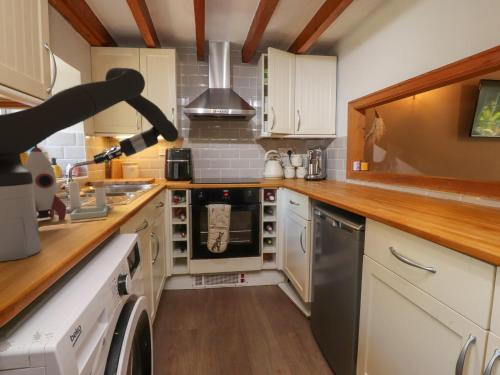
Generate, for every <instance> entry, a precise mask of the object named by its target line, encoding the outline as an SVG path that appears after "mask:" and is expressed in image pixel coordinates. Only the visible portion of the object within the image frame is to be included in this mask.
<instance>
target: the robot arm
mask: <svg viewBox="0 0 500 375" xmlns="http://www.w3.org/2000/svg"><path fill="white" fill-rule="evenodd" d="M104 79H105V80H100V81H91V82H85V83H79V84H75V85H71V86H70V87H66V88H64V89H61V90H59V91H57V92H55V93H53V94H52V95H50V96H48V98H46V99H45V100H44V101H43V102H42V103H39V104H38V105H35V106H32V107H28V108H25V109H21V110H18V111H14V112H10V113H2V114H0V263H1V262H8V261H14V260H22V259H27V258H29V257H31V256H33V255H35V254H38V253H39V252H41V250H42V247H41V239H40V231H39V222H38V218H37V214H38V212H37V213H36V205H35V196H34V188H33V179H32V174H31V172H30V171H28V170H27V169H26V168H25V167H24V165H23V164H24V163H23V162H22V157H21V155H23V154H24V153H27V152H28V151H31V150H32V149H33V148H34V147H35V146H36V145H37V146H38V145H39V144H40V143H42V142H43V141H45V140H46V139H48V138H49V137H51V136H52V135H54V134H56V133H57V132H60V131H61V132H62V131H63V130H66V129H69V128H71V127H73V126H75V125H78V124H80V123H83V122H84V121H87V120H89V119H90V118H92V117H95V116H96V115H98V114H100V113H102V112H104V111H106V110H108V109H109V108H111V107H114V106H115V105H117V104H119V103H121V102H125V103H126V104H128V105H129V106H130V107H131V108H133V109H134V110H136V112H138V113H139V114H140V115H141V116H142V117H143V118H144V119H146V121H147V122H148V123H149V124H150V125H151V127H150V128H149V129H146V130H144V131H141V132H139V133H136V134H132V135H129V136H127V137H123V138H122V139H119V140H118V145H119V146H117V145H115V146H111V147H109V148H107V149H104V150H102V151H101V152H99V153H97V154H95V155H93V163H94V164H95V165H98V164H101V163H104V162H106V161H107V162H109V161H111V160H114V159H116V158H119V157H122V156H123V154H124V156H125V157H126V158H127V157H130V156H131V157H132V156H134V155H135V154H138V153H140V152H143V151H144V150H147V149H148V148H151V147H153V146H156V145H158V144H159V138H158V137H159V136H161V137H162V138H163V139H164V140H165V141H166V142H169V143H173V142H175V141H177V140H178V138H179V136H180V135H179V131H178V129H177V128H176V126H175V125H174V123H173V121H171V120H169V119H168V117H167V116H166V114H165V113H164V112H163V111H162V110H161V109H160V107H159V106H158V105H157V104H155V103H154V102H152V101H151V100H149V99H147V97H144V96H143V95H142V93H143V91H144V90H145V86H146V81H145V78H144V76H143V74H142V73H141V72H140V71H138V70H137V69H134V68H130V67H129V68H128V67H111V68H109V69H108V70H107V71H106V74H105V77H104Z"/></svg>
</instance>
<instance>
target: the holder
mask: <svg viewBox="0 0 500 375" xmlns="http://www.w3.org/2000/svg"><path fill="white" fill-rule="evenodd" d="M106 206H107V208H108V211H114V208H115V206H111V204H106ZM92 207H96V205H93V206H92ZM81 208H86V206H81ZM49 214H50V212H49ZM70 214H71V208H70V207H68V208H67V207H66V215H70ZM38 215H39V213H38V212H37V216H38ZM54 216H58V213H57V212H56V211H55V210H54Z"/></svg>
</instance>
